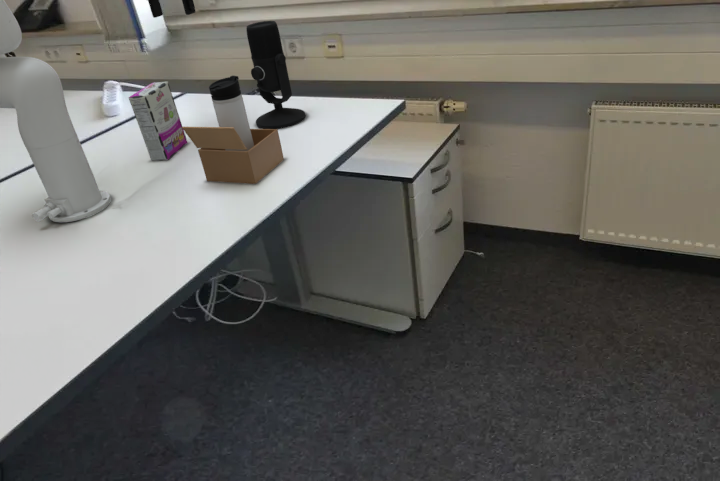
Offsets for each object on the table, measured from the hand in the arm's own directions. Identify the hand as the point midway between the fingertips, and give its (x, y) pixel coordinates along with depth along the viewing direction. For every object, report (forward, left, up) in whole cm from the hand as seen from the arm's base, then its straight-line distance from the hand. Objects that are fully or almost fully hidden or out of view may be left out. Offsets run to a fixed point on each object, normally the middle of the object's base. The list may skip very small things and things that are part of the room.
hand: (174, 15), depth 137 cm
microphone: (+11, -17, -31) cm, 36 cm away
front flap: (-28, -25, -20) cm, 42 cm away
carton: (-20, -25, -30) cm, 44 cm away
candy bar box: (-12, +3, -31) cm, 33 cm away
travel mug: (-20, -25, -30) cm, 44 cm away
